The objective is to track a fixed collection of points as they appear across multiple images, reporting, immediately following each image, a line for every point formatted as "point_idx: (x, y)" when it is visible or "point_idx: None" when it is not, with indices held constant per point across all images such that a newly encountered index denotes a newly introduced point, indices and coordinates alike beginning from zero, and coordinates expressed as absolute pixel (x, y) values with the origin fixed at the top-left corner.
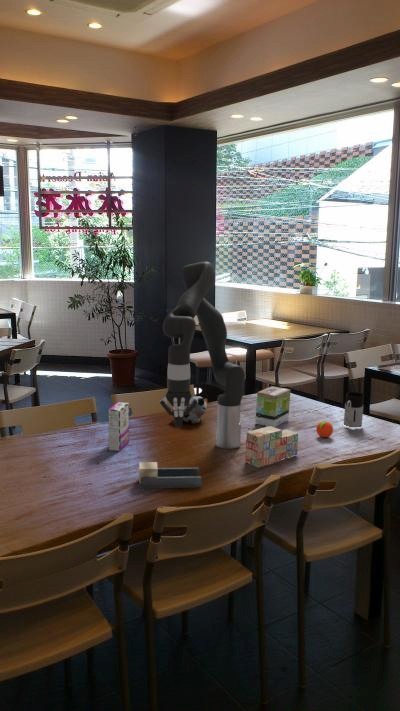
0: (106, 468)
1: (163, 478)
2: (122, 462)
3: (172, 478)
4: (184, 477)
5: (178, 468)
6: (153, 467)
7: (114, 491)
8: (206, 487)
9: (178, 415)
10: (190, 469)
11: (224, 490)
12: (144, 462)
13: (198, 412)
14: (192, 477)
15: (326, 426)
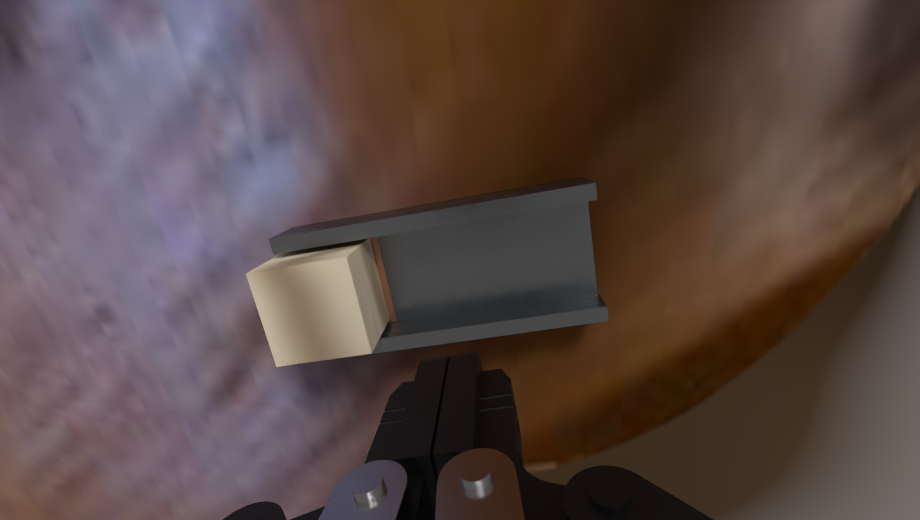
0: (90, 125)
1: (415, 347)
2: (133, 17)
3: (459, 341)
4: (519, 329)
5: (476, 213)
6: (345, 338)
7: (230, 375)
8: (620, 296)
9: (439, 466)
10: (546, 207)
11: (705, 319)
12: (276, 272)
13: None
14: (561, 325)
15: None
